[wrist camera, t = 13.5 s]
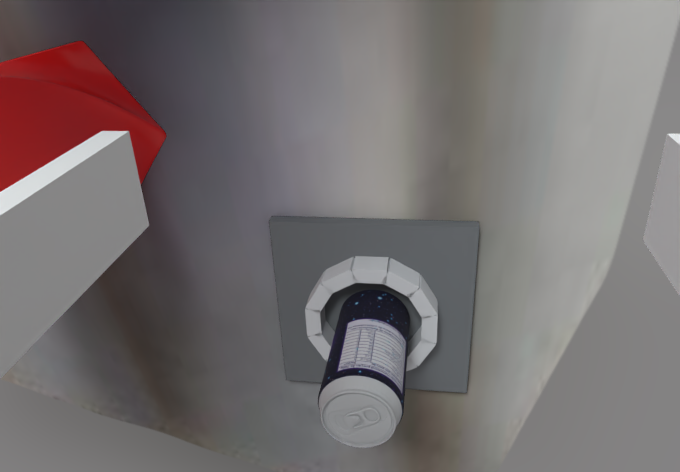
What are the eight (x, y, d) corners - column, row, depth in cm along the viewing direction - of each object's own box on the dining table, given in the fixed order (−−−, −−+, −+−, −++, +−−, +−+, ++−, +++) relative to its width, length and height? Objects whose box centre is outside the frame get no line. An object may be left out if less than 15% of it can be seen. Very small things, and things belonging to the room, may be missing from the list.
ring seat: (288, 372, 53) (280, 395, 51) (272, 215, 46) (262, 233, 43) (466, 384, 51) (467, 409, 48) (478, 221, 44) (481, 240, 41)
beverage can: (329, 297, 48) (298, 401, 37) (391, 273, 46) (376, 376, 35) (361, 348, 50) (340, 461, 39) (422, 327, 48) (417, 440, 37)
